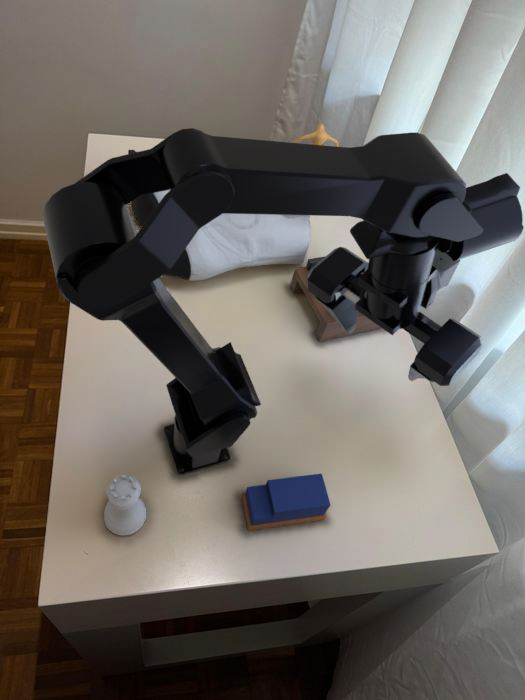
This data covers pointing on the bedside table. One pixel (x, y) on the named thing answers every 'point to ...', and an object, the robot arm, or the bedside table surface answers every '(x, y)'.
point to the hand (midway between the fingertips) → (380, 354)
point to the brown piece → (328, 323)
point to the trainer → (286, 502)
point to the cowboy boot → (234, 240)
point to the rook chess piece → (124, 506)
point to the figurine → (318, 137)
